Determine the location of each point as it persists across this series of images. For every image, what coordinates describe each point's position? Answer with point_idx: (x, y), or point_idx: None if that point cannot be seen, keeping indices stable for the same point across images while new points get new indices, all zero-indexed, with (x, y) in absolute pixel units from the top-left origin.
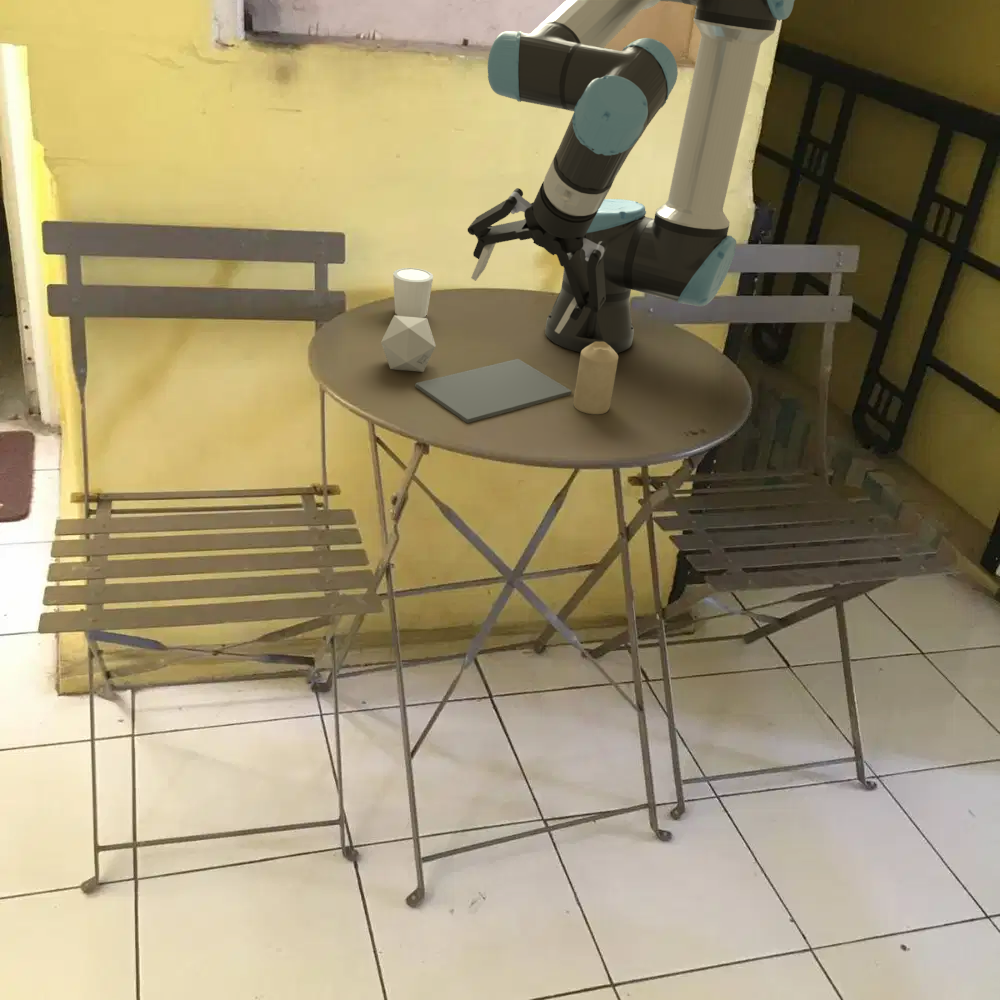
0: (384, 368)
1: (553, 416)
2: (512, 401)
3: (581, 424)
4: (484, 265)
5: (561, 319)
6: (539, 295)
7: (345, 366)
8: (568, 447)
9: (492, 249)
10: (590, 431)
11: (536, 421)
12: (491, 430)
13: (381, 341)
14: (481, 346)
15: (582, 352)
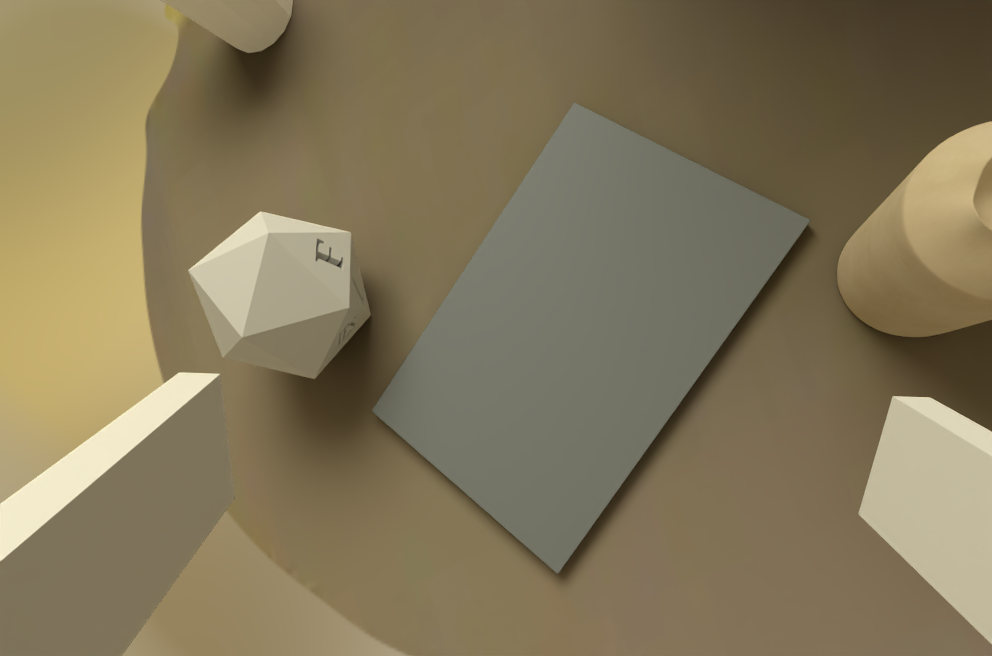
0: None
1: (799, 410)
2: (646, 395)
3: None
4: (173, 489)
5: (972, 622)
6: None
7: None
8: (929, 621)
9: (31, 571)
10: None
11: (755, 471)
12: (639, 589)
13: (222, 355)
14: (457, 78)
15: (921, 249)
